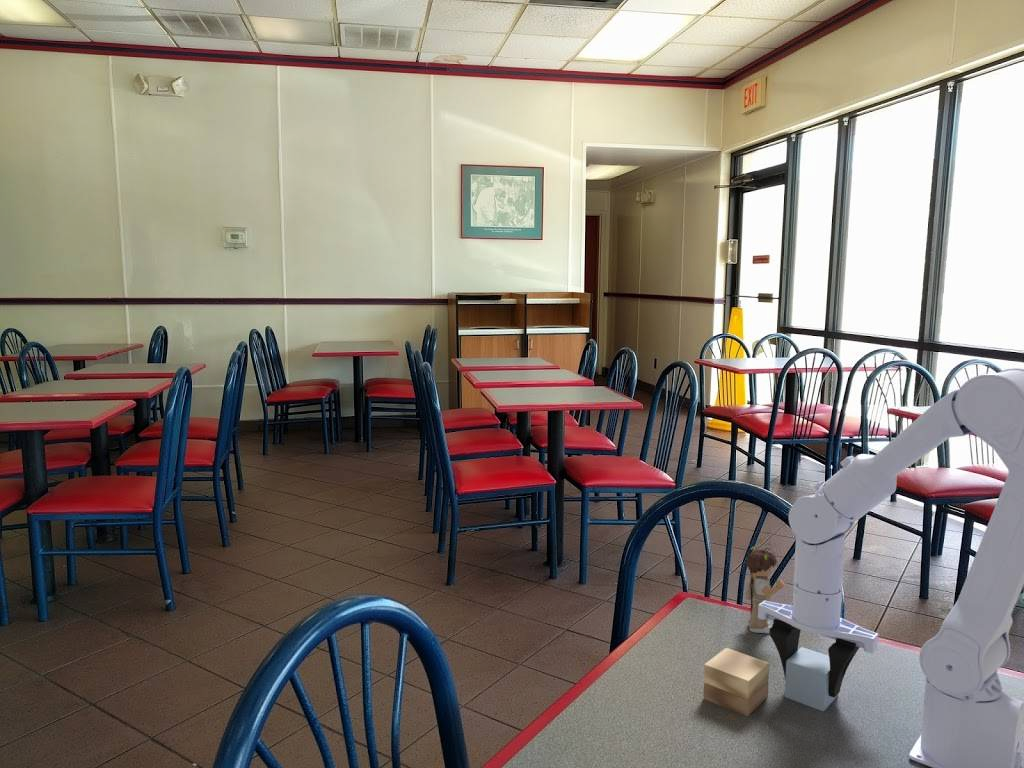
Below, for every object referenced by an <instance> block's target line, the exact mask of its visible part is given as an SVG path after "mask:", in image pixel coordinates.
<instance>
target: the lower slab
mask: <svg viewBox="0 0 1024 768" xmlns="http://www.w3.org/2000/svg"><path fill="white" fill-rule="evenodd" d="M768 697H769V681H768V682H767V683H766V684H765V685H764V686H762V687H761V688H760V689H759V690H758V691H757V692H756V693H755V694H754V695H753V696H752V697H751V698H749V699H748V700H747V699H744V698H742V697H739V696H737V695H734V694H731V693H729V692H726V691H724V690H721V689H719V688H716V687H714V686H711V685H709V684H706V683H704V682H703V699H704V700H706V701H708V702H711V703H713V704H716V705H718V706H721V707H722V708H725V709H727V710H731V711H732V712H735V713H739V714H741V715H743V716H746V717H749V716H750V715H751V714H752V713H753V712H754V711H755V710H756V709H757V708H758V707H759V706H760V705H761V704H762V703H763V702H764V701H765V700H767V698H768Z"/></svg>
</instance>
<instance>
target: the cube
mask: <svg viewBox="0 0 1024 768" xmlns="http://www.w3.org/2000/svg"><path fill="white" fill-rule="evenodd" d="M829 679H830V661H829V654H824V653H821V652H819V651H815V650H812V649H810V648H806V647H803V646H801V647H800V648H798V651H796V652H795V653H794V654H793V655H792V656H791V657H790V658H789V659H788V660H787V661H786V679H785V678H784V681H785V682H784V698H787V699H788V700H791V701H795V702H798V703H799V704H802V705H805V706H807V707H811V708H813V709H815V710H816V709H817V710H818V711H820V712H825V711H826V710H827V709H828V708H829V706H830V705H831V704H832V703H833V702H834V701H835V700H836V698H838V695H839V693H838V694H837V696H836V697H831V696H829V691H828V689H829Z"/></svg>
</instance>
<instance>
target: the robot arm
mask: <svg viewBox="0 0 1024 768" xmlns="http://www.w3.org/2000/svg"><path fill="white" fill-rule="evenodd" d="M971 434H974V435H975V436H976V437H978V438H979V439H980V440H982V441H983V442H984V443H986V444H987V445H988V446H989V447H991V448H992V450H994V451H995V453H996V454H997V456H998V457H999V459H1000V460H1001V461H1002V462H1003V464H1004V465H1005V467H1006V468H1007V470H1008V473H1007V475H1006V479H1005V481H1004V484H1003V485H1002V488H1001V490H1000V494H999V496H998V499H997V500H996V503H995V507H994V509H993V512H992V513H991V516H990V519H989V521H988V523H987V526H986V528H985V531H984V533H983V535H982V538H981V541H980V543H979V545H978V549H977V551H976V554H975V555H974V558H973V561H972V564H971V566H970V569H969V570H968V573H967V575H966V578H965V581H964V583H963V586H962V588H961V591H960V594H958V595H959V596H958V599H957V600H956V602H955V604H954V605H953V607H952V608H951V610H950V611H949V613H948V614H947V615H946V617H945V618H944V620H943V622H942V624H941V626H940V629H939V630H938V632H937V633H936V635H935V636H933V637H932V638H930V639H928V640H927V641H925V643H924V644H923V645H922V646H921V648H920V652H919V657H918V659H919V665H920V668H921V671H922V672H923V674H924V676H925V683H924V684H925V685H924V693H923V695H924V696H923V709H922V722H921V731H920V733H921V734H920V735H919V737H918V738H917V740H916V742H915V743H914V745H913V746H912V748H911V750H910V752H909V753H908V757H909V759H910V760H912V761H915V762H917V763H919V764H922V765H925V766H928V767H929V768H930V767H931V768H1021V766H1022V758H1023V754H1022V752H1021V751H1022V742H1023V741H1022V740H1023V732H1024V702H1023V701H1022V700H1019V699H1017V698H1015V697H1013V696H1011V695H1009V694H1008V693H1006V692H1004V691H1003V687H1002V685H1001V681H1000V677H999V675H998V670H999V669H1000V668H1002V667H1003V666H1005V664H1007V662H1008V661H1009V659H1010V656H1011V643H1010V637H1009V634H1010V629H1011V627H1012V625H1013V623H1014V621H1013V620H1014V619H1013V618H1012V613H1013V612H1014V608H1015V606H1016V604H1017V602H1018V599H1019V597H1020V595H1021V592H1022V591H1023V588H1024V368H1021V367H1020V368H1019V367H1017V368H1016V367H1012V368H1007V369H1003V370H1001V371H998V372H996V373H985V374H980V375H976V376H973V377H971V378H970V379H968V380H967V381H966V382H965V383H963V384H962V385H961V386H960V388H959V389H954V390H952V391H951V392H949V393H947V394H945V395H944V396H942V397H941V398H940V399H938V400H937V401H936V402H935V403H934V404H932V405H931V406H930V407H928V408H927V409H926V410H925V411H924V412H923V413H921V415H919V416H918V417H917V418H916V419H914V420H913V422H912V423H910V424H909V425H908V426H907V427H905V429H903V430H902V431H901V433H899V434H898V435H897V436H896V437H895V438H893V439H892V440H891V441H889V442H888V444H887V445H886V446H885V447H883V448H882V449H881V450H880V451H879V452H877V454H868V453H867V454H866V453H861V454H860V453H859V454H857V455H856V456H854V455H850V456H846V457H845V458H844V459H843V460H842V461H840V462H839V463H840V465H841V468H840V469H839V470H837V472H836V473H834V474H833V475H832V476H830V477H829V478H828V479H827V480H826V481H824V480H821V481H818V482H817V483H815V484H814V489H815V492H814V494H811V495H804V496H800V497H798V498H796V500H795V501H794V503H792V506H791V507H790V510H789V511H788V524H789V526H790V529H791V530H792V532H793V533H794V535H795V551H794V552H795V553H794V566H793V567H794V568H793V569H794V570H793V571H794V572H793V590H792V591H793V592H792V605H791V604H783V603H778V602H774V601H770V600H769V601H765V600H764V601H763V602H762V603H760V604H759V605H758V618H759V619H762V620H766V619H768V620H770V621H773V622H772V624H771V625H772V626H771V628H770V630H769V633H768V634H769V636H770V638H771V640H772V642H773V644H774V646H775V648H776V650H777V652H778V656H779V658H780V662H781V666H782V671H783V675H784V676H783V677H784V680H785V679H786V661H787V660H788V659H789V658H790V657H791V656H792V655H793V654H794V653H795V652H796V651H798V650H799V641H800V635H801V631H803V632H805V633H809V634H813V635H818V636H822V637H826V638H828V639H832V640H835V642H833V643H832V644H831V645H830V646H829V647H828V649H827V651H828V656H829V661H830V679H829V689H828V691H829V696H831V697H836V696H837V694H838V695H839V694H840V692H841V687H842V684H843V680H844V677H845V675H846V673H847V671H848V669H849V666H850V664H851V663H852V660H853V659H854V657H855V656H856V654H857V652H858V651H859V650H860V648H861V649H863V651H864V652H866V653H869V654H874V652H876V650H877V649H878V641H879V633H877V632H875V631H872V630H869V629H867V628H864V627H862V626H860V625H858V624H855V623H853V622H851V621H849V620H846V619H844V618H842V617H841V615H842V613H841V612H842V597H843V596H842V594H843V577H844V563H845V561H844V560H845V543H846V535H847V533H849V532H850V531H851V530H852V528H853V527H854V525H855V523H856V522H857V521H858V520H860V519H861V518H863V517H864V516H865V515H867V513H869V512H870V511H872V510H873V509H875V507H877V506H878V505H880V504H881V503H882V502H883V501H884V500H886V499H887V498H889V497H890V496H891V495H894V493H895V492H896V490H897V482H898V481H897V480H898V475H900V474H901V473H902V472H904V471H905V470H906V469H908V468H909V467H911V466H912V465H914V464H915V463H916V462H919V460H921V459H923V457H925V456H926V455H928V454H930V452H932V451H933V450H934V449H936V448H938V447H939V446H940V445H942V444H944V442H946V441H947V440H948V439H950V438H957V437H964V436H967V435H971ZM837 697H838V696H837ZM837 697H836V698H837Z"/></svg>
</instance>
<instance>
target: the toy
mask: <svg viewBox="0 0 1024 768" xmlns="http://www.w3.org/2000/svg"><path fill="white" fill-rule="evenodd" d="M768 541H771V542H774V541H773V540H772V539H771V538H769V539H768ZM757 542H758V544H761V542H763V540H762V539H759V540H757ZM750 544H751V543H749V544H748V545H747V546H748V547H749V546H750ZM764 545H765V546H769V545H770V546H771V547H773V546H772V544H771V543H770V542H768V543H764ZM773 545H774V546H776V543H773ZM753 549H755V550H753ZM750 550H752V551H751V552H750V553H749V555H748V556H747V558H746V566H747V568H748V571H749V575H750V576H749V578H750V579H749V580H750V581H749V582H747V585H746V589H745V592H744V593H745V594H744V595H745V597H744V598H745V599H746V600H747V601H750V609H749V610H750V611H749V612H750V613H749V614H750V617H749V619H748V621H747V623H748V626H749V627H748V628H749V631H750V632H752V633H757V634H758V633H761V634H770V633H769V630H770V628H771V627H772V626H771V623H770V621H769V619H766V620H762V619H759V618H758V605H759V604H760V603H762V602H763V601H764V600H765V601H769V602H770V601H771V599H772V596H773V595H775V594H776V593H777V592H779V591H780V590H781V591H782V590H783V588H784V586H786V584H785V582H784V581H783V580H782V579H778V580H776V582H775V584H776V585H775V586H773V587H772V585H770V581H771V579H770V578H769V576H770V575H771V574H772V568H773V569H775V567H776V568H777V567H780V565H779V561H778V560H777V556H776V554H775V552H777V550H776V549H775V548H773V550H774V551H775V552H774V551H772V550H771V548H768V547H761V549H759V548H758V547H756V546H755V545H752V546H751V547H749V548H748V551H747V554H748V552H749V551H750ZM769 551H771V552H769ZM777 565H778V566H777Z"/></svg>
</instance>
